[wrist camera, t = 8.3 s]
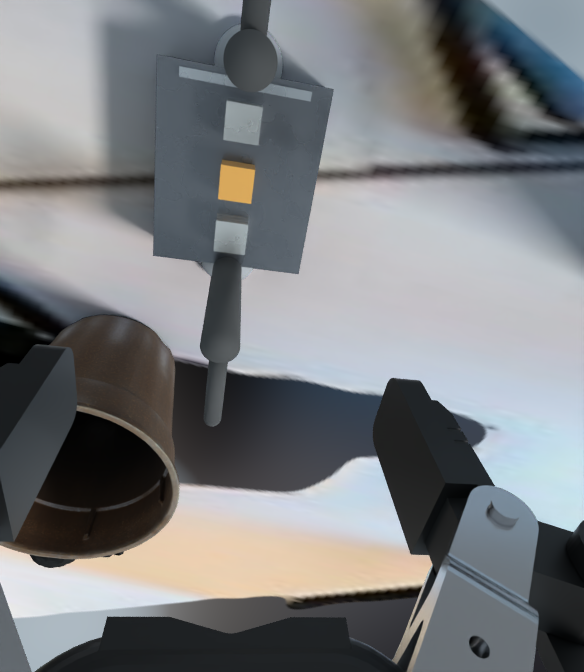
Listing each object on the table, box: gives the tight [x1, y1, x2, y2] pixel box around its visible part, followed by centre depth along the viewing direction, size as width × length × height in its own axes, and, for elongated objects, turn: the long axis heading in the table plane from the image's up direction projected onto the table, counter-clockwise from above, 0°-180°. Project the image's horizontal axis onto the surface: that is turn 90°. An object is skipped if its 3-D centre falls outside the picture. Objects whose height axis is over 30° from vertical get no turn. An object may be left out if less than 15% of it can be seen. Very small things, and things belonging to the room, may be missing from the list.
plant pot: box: [0, 315, 179, 559], centre depth 39 cm, size 16×16×16 cm
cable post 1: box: [214, 0, 283, 92], centre depth 26 cm, size 5×10×16 cm, turn 170°
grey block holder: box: [153, 55, 334, 274], centre depth 35 cm, size 12×14×6 cm
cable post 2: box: [200, 257, 253, 426], centre depth 35 cm, size 5×10×16 cm, turn 170°
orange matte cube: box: [218, 160, 255, 204], centre depth 33 cm, size 2×2×2 cm
